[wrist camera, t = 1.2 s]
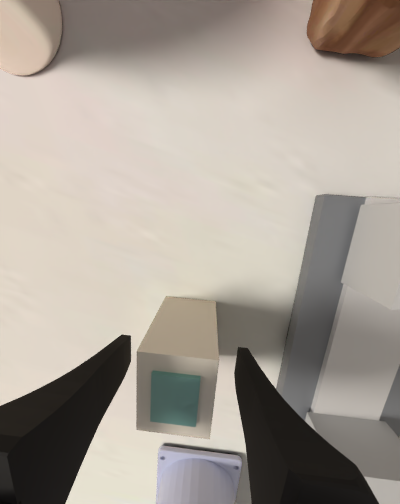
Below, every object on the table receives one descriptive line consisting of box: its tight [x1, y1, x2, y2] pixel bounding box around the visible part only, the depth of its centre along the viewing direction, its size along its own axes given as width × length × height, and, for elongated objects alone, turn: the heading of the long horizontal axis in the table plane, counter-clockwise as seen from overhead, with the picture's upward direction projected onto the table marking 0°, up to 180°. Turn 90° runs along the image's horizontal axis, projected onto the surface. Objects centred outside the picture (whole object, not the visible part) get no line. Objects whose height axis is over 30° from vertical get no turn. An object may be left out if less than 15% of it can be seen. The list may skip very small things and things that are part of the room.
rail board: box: [276, 194, 400, 504], centre depth 12 cm, size 22×10×5 cm, turn 176°
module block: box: [137, 296, 219, 439], centre depth 12 cm, size 5×4×6 cm
